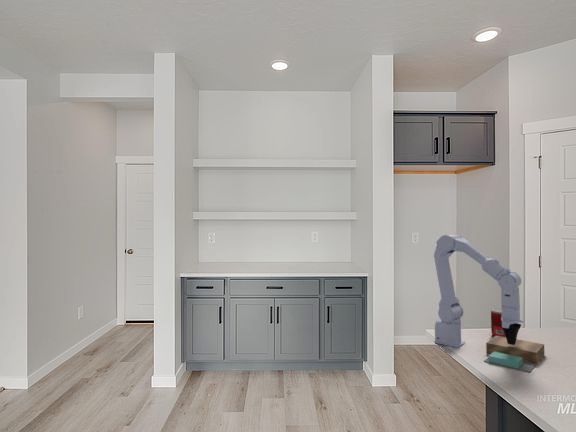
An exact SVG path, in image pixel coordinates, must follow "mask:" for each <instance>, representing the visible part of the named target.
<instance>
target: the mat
mask: <svg viewBox="0 0 576 432" xmlns="http://www.w3.org/2000/svg"><path fill="white" fill-rule="evenodd" d="M483 362H484V363H487V364H492V365H496V366H500V367H505V368H507V369H512V370H517V371H521V372H525V373H526V372H527V373H529V374H530V373H532V372H533V370H534V369H535V368H536V366H537V365H538V364H534V363H529V362H525V361H523V364H522V365H521V366H520V367H519V368H514V367H510V366H505V365H501V364H497V363H492V362H489V359H488V357H487V358H486V359H484V360H483Z"/></svg>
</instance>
